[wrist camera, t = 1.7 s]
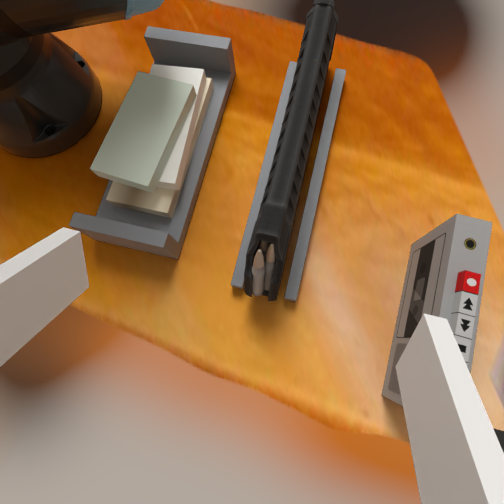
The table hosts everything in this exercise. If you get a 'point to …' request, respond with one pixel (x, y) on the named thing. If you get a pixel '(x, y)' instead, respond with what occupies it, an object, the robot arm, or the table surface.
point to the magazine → (290, 155)
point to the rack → (174, 229)
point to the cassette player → (442, 288)
